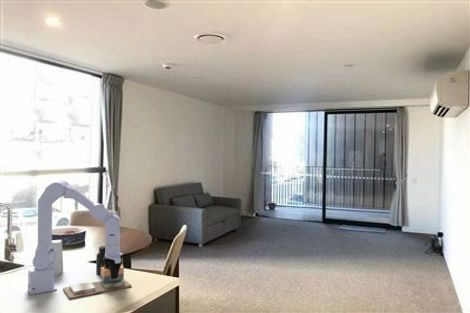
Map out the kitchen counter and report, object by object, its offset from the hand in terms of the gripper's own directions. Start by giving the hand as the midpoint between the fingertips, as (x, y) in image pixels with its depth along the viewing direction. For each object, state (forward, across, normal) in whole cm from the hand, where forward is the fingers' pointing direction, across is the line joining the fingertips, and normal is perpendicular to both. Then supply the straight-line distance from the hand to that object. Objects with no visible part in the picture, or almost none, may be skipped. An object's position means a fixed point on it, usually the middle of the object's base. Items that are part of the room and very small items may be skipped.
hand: (112, 276), depth 158 cm
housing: (+1, 0, 0) cm, 1 cm away
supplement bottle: (+4, +19, -2) cm, 20 cm away
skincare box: (+4, +31, +18) cm, 36 cm away
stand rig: (+4, 0, +6) cm, 7 cm away
